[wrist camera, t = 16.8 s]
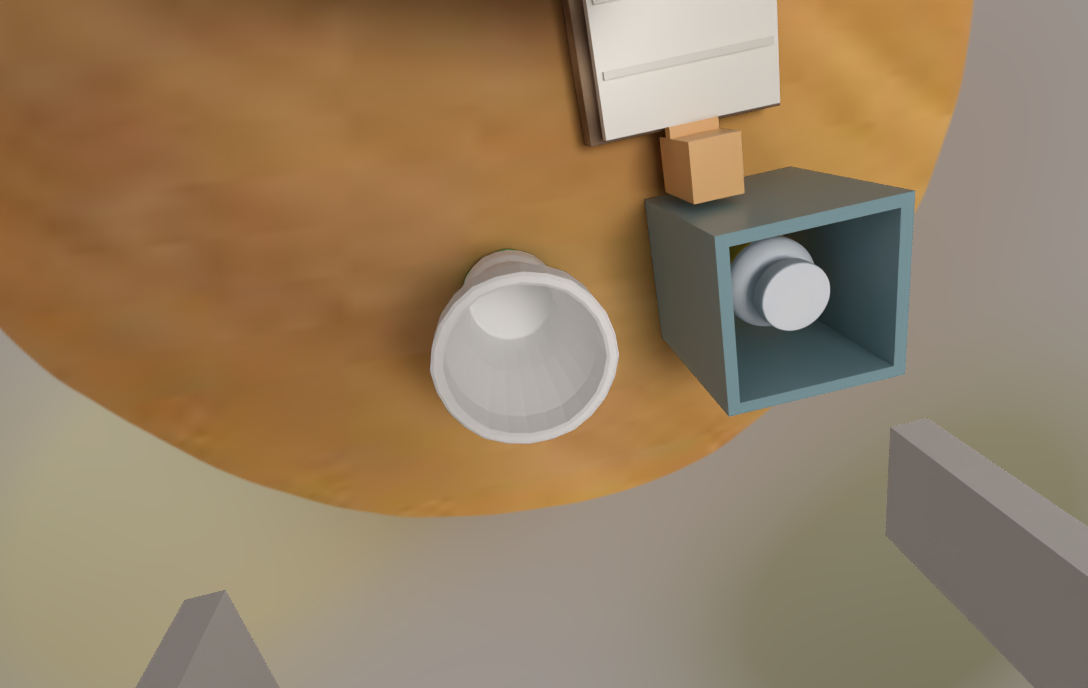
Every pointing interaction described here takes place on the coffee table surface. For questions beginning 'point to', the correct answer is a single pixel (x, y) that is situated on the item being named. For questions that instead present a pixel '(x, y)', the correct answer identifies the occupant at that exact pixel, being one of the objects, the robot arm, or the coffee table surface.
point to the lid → (685, 81)
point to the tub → (834, 245)
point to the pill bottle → (777, 284)
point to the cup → (522, 350)
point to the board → (585, 77)
